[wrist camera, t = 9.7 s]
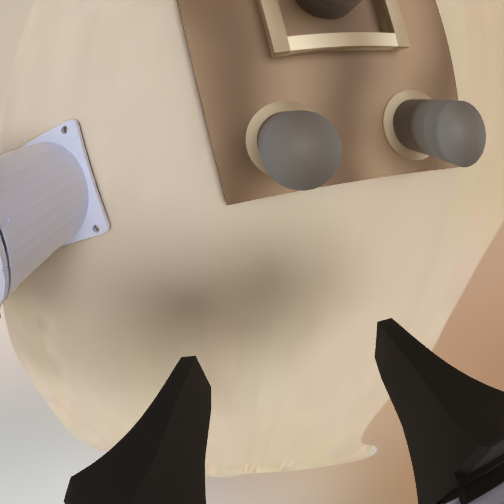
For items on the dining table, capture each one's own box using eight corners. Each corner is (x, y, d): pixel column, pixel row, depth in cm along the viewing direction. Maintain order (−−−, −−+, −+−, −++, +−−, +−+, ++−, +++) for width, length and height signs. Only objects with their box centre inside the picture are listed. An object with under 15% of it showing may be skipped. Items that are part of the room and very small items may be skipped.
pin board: (227, 200, 18) (219, 241, 13) (172, -32, 11) (145, -77, 6) (454, 163, 17) (511, 187, 11) (410, -43, 10) (453, -72, 4)
